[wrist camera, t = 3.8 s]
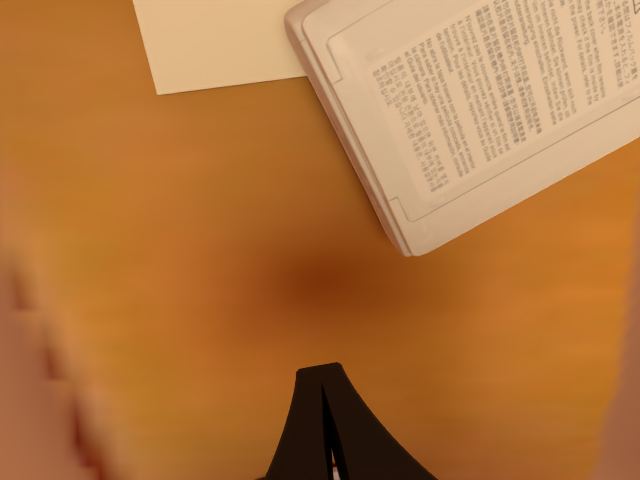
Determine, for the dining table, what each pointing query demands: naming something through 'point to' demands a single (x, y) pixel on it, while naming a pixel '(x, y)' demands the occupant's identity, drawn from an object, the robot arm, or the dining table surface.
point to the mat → (216, 42)
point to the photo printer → (469, 100)
